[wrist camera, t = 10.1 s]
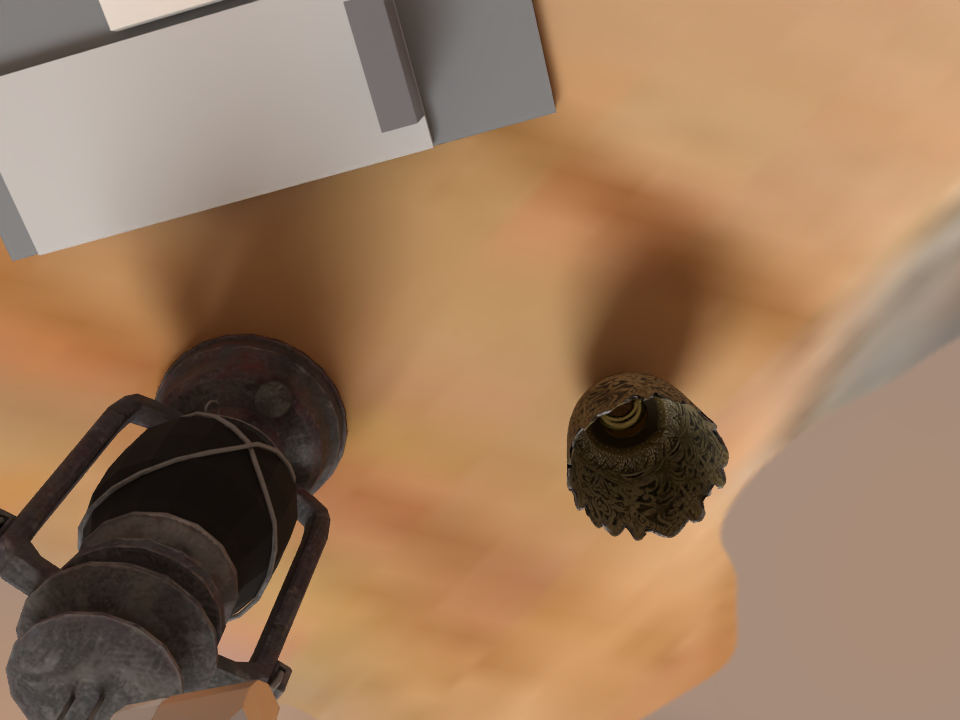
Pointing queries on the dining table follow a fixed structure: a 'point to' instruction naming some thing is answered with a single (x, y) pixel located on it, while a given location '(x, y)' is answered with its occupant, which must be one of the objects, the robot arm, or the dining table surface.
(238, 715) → the robot arm
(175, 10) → the white strip
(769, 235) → the dining table surface
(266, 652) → the lantern
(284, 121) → the grey strip
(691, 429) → the dark ornate pot
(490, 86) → the slate board
